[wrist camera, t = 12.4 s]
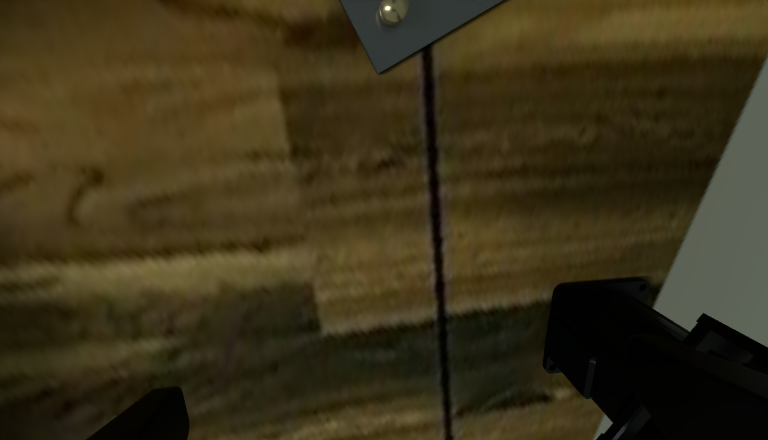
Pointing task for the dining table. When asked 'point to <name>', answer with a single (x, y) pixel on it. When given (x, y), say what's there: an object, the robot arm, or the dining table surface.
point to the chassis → (406, 24)
